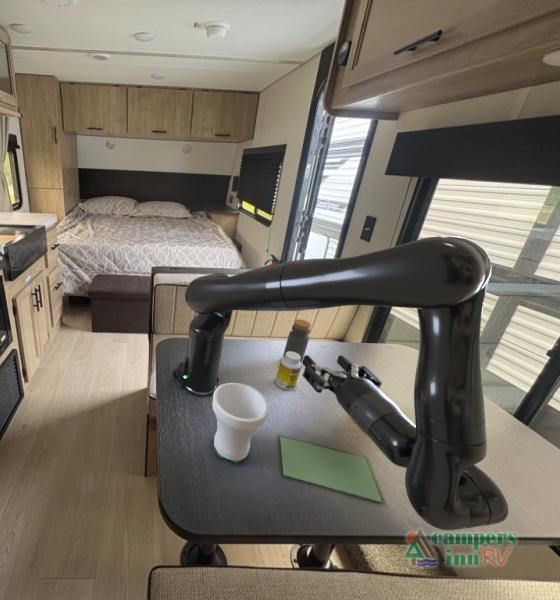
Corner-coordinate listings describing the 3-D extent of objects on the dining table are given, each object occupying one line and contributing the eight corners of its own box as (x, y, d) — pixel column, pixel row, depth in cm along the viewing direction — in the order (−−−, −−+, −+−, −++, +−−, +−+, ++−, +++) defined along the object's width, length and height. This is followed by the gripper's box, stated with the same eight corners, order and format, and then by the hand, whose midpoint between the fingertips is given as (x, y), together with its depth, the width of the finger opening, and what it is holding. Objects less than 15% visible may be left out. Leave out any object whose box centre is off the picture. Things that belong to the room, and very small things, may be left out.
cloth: (283, 475, 62) (283, 474, 62) (279, 437, 71) (279, 436, 71) (381, 503, 58) (382, 502, 58) (364, 458, 67) (365, 457, 67)
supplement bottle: (287, 393, 85) (296, 363, 81) (271, 381, 89) (278, 352, 85) (299, 386, 88) (307, 357, 84) (282, 375, 92) (290, 347, 88)
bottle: (280, 356, 102) (290, 317, 95) (298, 358, 101) (309, 319, 95) (284, 367, 96) (295, 326, 90) (303, 369, 96) (315, 328, 89)
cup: (194, 443, 68) (201, 394, 62) (227, 421, 74) (236, 375, 69) (233, 482, 60) (246, 431, 54) (266, 454, 66) (280, 405, 61)
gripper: (412, 392, 56) (355, 345, 71) (340, 393, 55) (297, 344, 69) (397, 422, 59) (345, 371, 74) (328, 424, 58) (289, 371, 73)
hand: (322, 358), depth 72 cm, fingers open, 8 cm apart
